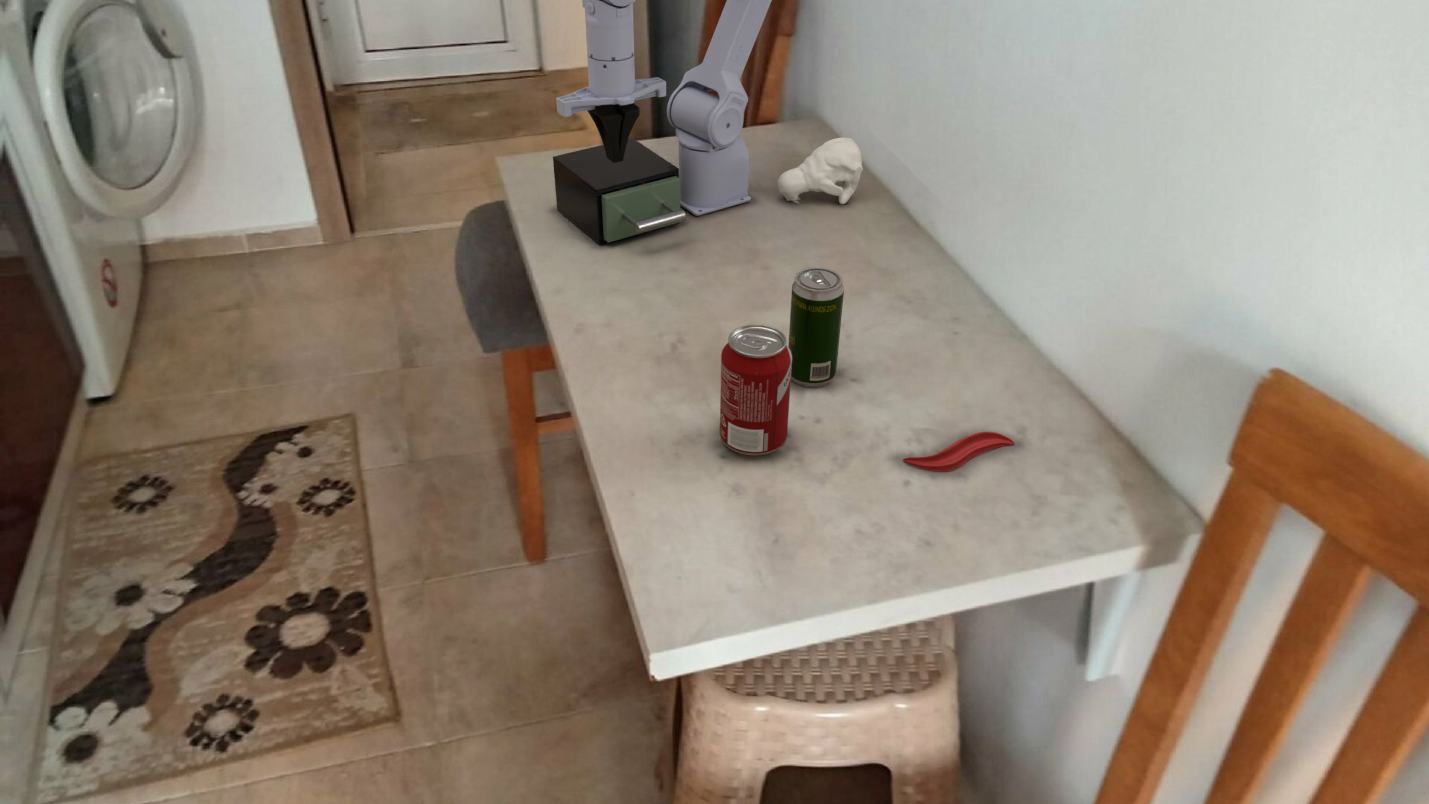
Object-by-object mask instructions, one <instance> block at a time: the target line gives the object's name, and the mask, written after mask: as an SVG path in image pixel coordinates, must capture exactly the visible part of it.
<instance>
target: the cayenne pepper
mask: <svg viewBox="0 0 1429 804" xmlns="http://www.w3.org/2000/svg"><path fill="white" fill-rule="evenodd" d="M1015 445H1016V442H1014V441H1013V440H1012V439H1011V438H1009V437H1008V436H1005V435H1003V434H1002V433H998V432H996V431H995V432H994V431H980V432H976V433H973V434H971V435H967V436H964V437H962V438H960V439H958V440H957V441H955V442H954V443H952V444H950V445H949V446H948V447H945V448H944V449H942V450H941V451H939V452H936V453H935V454H931V455H927V456H914V457H913V456H911V457H905V458H903V459H902V461H903V462H904V463H906V464H908V465H910V466H912V467H915V468H919V469H921V470H926V471H932V472H951V471H954V470H957V469H959V468H961V467H962V466H963V465H965V464H966V463H967V462H968V461H970V460H971V459H973V458H975V457H976V456H979V455H982V454H983V453H986V452H988V451H991V450H995V449H998V448H1001V447H1007V446H1015Z"/></svg>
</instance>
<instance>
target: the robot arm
mask: <svg viewBox="0 0 1429 804" xmlns="http://www.w3.org/2000/svg"><path fill="white" fill-rule="evenodd" d="M636 1H637V0H582V1H581V3H582V8H584V19H585V21H584V22H585V37H586V38H585V39H586V40H585V41H586V58H587V75H588V77H587V78H588V86H586V87H583V88H581V89H578V90H576V91H574V92H570V93H568V94H566V95H561V96H558V97H556V98H555V101H556V102H555V103H556V113H557V114H558V115H560V116H561V117H563V118H570V117H572V116H573V114H577V113H582V112H587V113H588V115H589V116H590V117H591V119H592V121H593V123H594V125H595V127H596V129H597V131H598V134H599V136H600V139H601V142H602V145H604V148H605V152H606V156H607V158H608V159H609V160H610V161H612V162H613V163H616V162H621V161H623V158H624V153H625V149H626V145H627V141H628V139H630V135H631V132H632V129H633V128H634V125H635V124H636V122H637V120H638V118H639V117H640V112H641V111H640V110H641V109H640V106H638V105H637V104H636V103H635V102H636V101H640V100H644V99H649V98H653V97H657V98H663V97H666V96H667V81H666V80H664V79H662V78H660V77H658V76H656V77H650V78H639V79H636V72H635V71H636V70H635V67H636V66H635V63H636V62H635V32H634V31H635V30H634V26H635V25H634V3H635V2H636ZM772 1H773V0H726V1H725V4H724V6H723V9H722V12H721V15H720V17H719V19H718V22H717V24H716V27H715V29H714V32H713V35H712V37H711V40H710V42H709V45H708V48H707V50H706V51H705V55H704V57H703V60H702V62H701V63H700V64H698V65H697V66H695V67H692V68H691V69H689V70H687V71H685V73H684V75H683V78H682V80H681V82H680V84H679V85H678V87H677V88H675V90H673V92H672V93H671V95H670V97H669V99H668V101H667V106H666V117H667V120H668V123H669V124H670V125H671V127H673V128H674V129H675V137H677V138H678V168H679V179H680V207H682V208H684V209H685V210H686V211H688V212H689V213H691V214H692V215H693V216H696V217H698V216H703V215H705V214H709V213H712V212H713V213H714V212H717V211H719V210H724V209H726V208H730V207H734V206H737V205H741V204H744V203H748V202H751V201H752V197H751V196H750V195H749V174H750V173H749V171H750V169H749V167H750V156H749V155H750V154H749V150H748V147H747V144H746V142H745V140H744V139H743V137H742V136H741V132H742V130H743V126H744V121H745V120H744V119H745V111H746V108H747V105H748V102H749V96H748V95H747V92H746V90H745V88H744V86H743V84H742V81H741V77H742V75H743V73H744V70H745V67H746V65H747V62H748V60H749V57H750V55H751V52H752V51H753V49H754V48H753V47H754V45H755V43H756V41H757V39H758V35H759V33H760V30H761V28H762V25H763V23H764V20H765V18H766V15H767V13H768V11H769V9H770V5H771V3H772ZM711 91H713V92H716V93H718V95H716V94H713V93H712V92H711Z"/></svg>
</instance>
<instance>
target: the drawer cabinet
mask: <svg viewBox="0 0 1429 804" xmlns="http://www.w3.org/2000/svg"><path fill="white" fill-rule="evenodd" d="M552 163H553V176H554V187H555V189H554V190H555V200H556V211H557V212H558V213H560V214H561V215H562V216H563V217H564V218H566V219H567V220H568V221H569V222H570V223H572V224H573V225H574V226H575V227H576V228H577V229H579V230H580V231H581V232H583V233H584V234H585V235H586V236H587V237H589V239H591V240H592V241H593V242H595V243H596V244H597V245H598V246H604V245H607V244H611V243H614V242H619V241H621V240H625V239H628V238H629V239H630V238H632V237H635V236H638V235H643V234H646V233H649V232H653V231H656V230H660V229H663V228H668V227H670V226H674V225H678V224H679V223H675V224H672V225H668V226H665V227H661V228H658V229H654V230H651V231H647V232H644V233H640V234H637V235H633V236H630V237H626V238H623V239H619V240H616V241H612V242H609V243H608V242H607V241H605V240H604V234H603V216H602V198H601V193H605V192H609V191H613V190H617V189H620V188H624V187H628V186H632V185H636V184H640V183H643V182H647V181H651V180H655V179H659V178H663V177H667V178H670V177H673V176H676V177H678V178H679V167H677V166H675V164H672V163H671V162H670V161H668V160H667V159H665V158H663V157H662V156H660V155H659V154H658V153H656V152H654V151H653V150H652V149H650V148H648V147H647V146H645V145H644V144H642V143H641V142H639V141H638V140H636V139H635V138H634V137H629V138H628V141H627V145H626V149H625V153H624V158H623V161H621V162H616V163H613V162H612V161H610V160H609V159H608V158H607V156H606V152H605V148H604V145H603V144H600V145H597V146H592V147H588V148H583V149H579V150H575V151H571V152H567V153H563V154H558V155H554V156H552Z"/></svg>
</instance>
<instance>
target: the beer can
mask: <svg viewBox="0 0 1429 804" xmlns="http://www.w3.org/2000/svg"><path fill="white" fill-rule="evenodd" d="M844 294H845V288H844V284H843V277H842V276H841V275H840V273H838V272H836V271H835V270H832V269H829V268H825V267H807V268H804V269H802V270H800V271H798V272H796V274H795V276H794V281H793V283H792V284H791V297H790V315H789V330H788V344H787V346H788V348H789V349H790V351H791V353H792V368H791V380H792V381H793V382H794V383H795V384H797V385H799V386H802V387H806V388H820V387H825V386H826V385H829V383H831V382H832V381H833V379H834V378H835V376H836V373H837V368H838V358H839V349H840V347H839V346H840V336H841V325H842V315H843V303H844V296H845V295H844Z"/></svg>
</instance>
